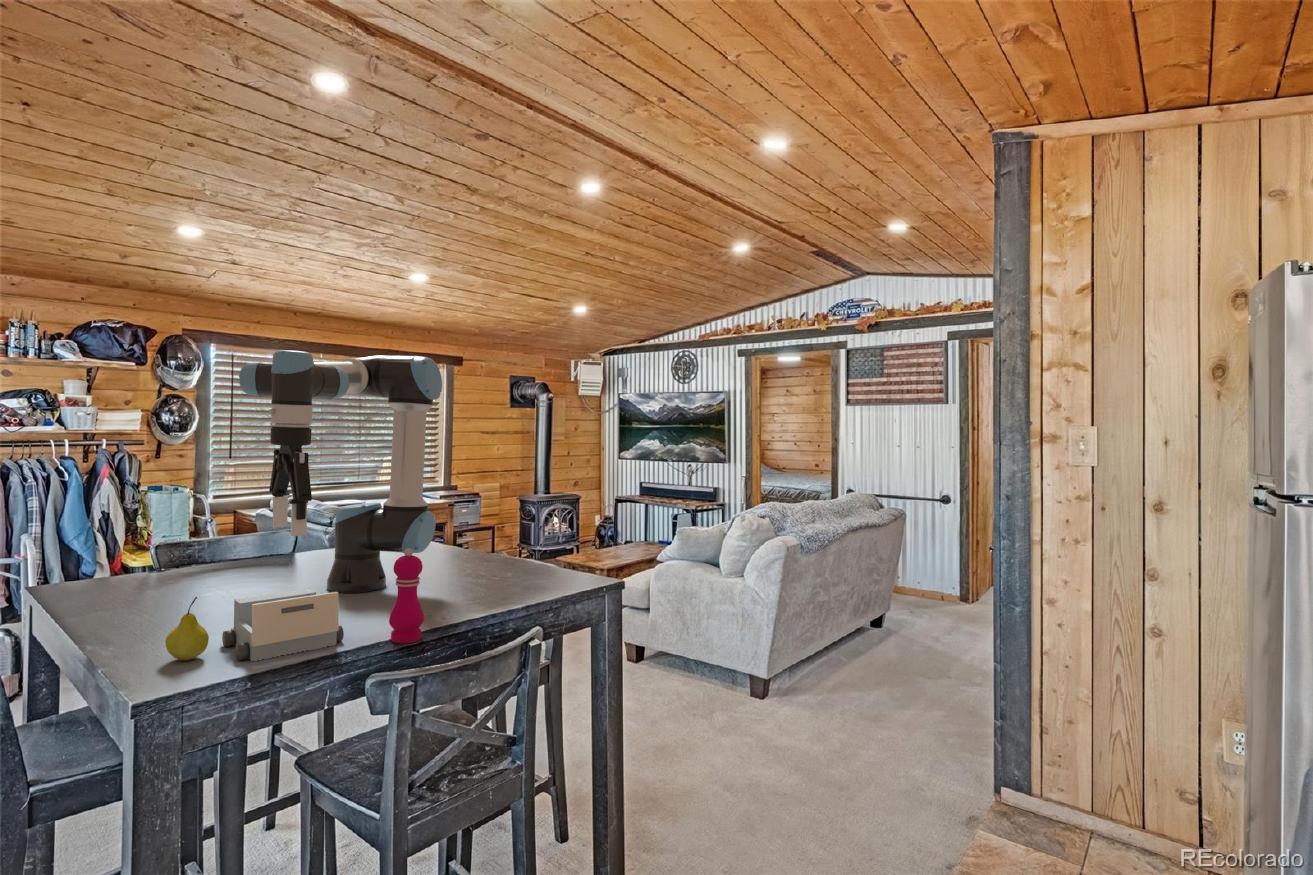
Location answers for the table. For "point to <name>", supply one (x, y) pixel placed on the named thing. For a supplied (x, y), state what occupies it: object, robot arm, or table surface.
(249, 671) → the table surface
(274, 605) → the panel
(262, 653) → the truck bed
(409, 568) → the pepper mill
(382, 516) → the robot arm
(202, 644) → the fruit
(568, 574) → the table surface
